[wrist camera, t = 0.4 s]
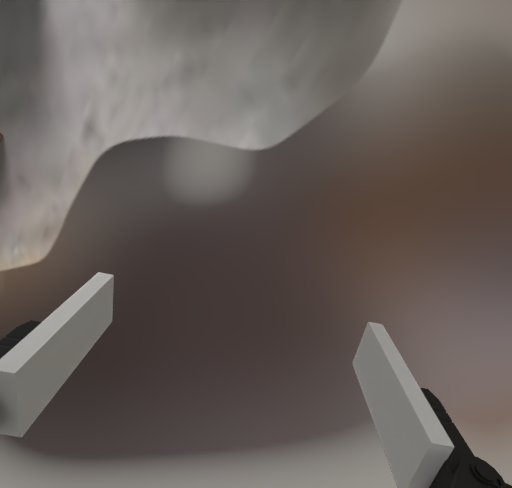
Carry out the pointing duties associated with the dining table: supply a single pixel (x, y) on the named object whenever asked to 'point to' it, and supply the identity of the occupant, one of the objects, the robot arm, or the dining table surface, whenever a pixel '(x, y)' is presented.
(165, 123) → the dining table surface
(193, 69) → the dining table surface
